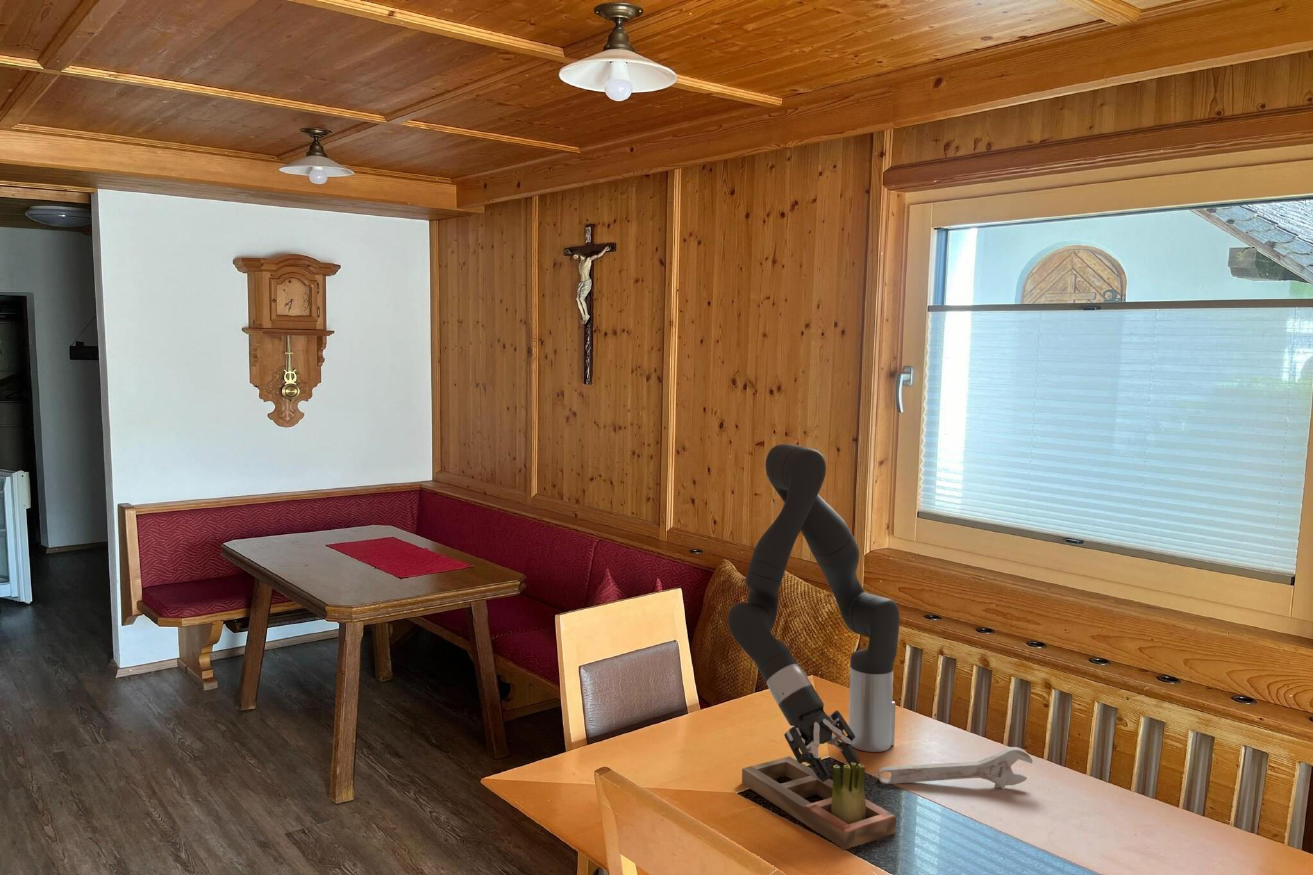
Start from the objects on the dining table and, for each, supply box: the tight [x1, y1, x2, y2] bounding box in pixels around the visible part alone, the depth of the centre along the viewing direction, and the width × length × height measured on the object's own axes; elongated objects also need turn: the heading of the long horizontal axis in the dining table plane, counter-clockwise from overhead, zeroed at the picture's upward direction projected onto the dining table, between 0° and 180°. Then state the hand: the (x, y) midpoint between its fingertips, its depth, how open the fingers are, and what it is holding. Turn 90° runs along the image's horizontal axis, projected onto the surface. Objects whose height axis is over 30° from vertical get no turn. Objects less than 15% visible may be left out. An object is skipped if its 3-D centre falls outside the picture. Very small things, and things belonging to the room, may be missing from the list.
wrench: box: [877, 746, 1033, 790], centre depth 189 cm, size 8×2×30 cm
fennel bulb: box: [831, 762, 866, 824], centre depth 170 cm, size 6×5×12 cm
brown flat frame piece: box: [741, 755, 897, 850], centre depth 179 cm, size 12×30×3 cm, turn 31°
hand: (841, 772), depth 172 cm, fingers open, 8 cm apart
